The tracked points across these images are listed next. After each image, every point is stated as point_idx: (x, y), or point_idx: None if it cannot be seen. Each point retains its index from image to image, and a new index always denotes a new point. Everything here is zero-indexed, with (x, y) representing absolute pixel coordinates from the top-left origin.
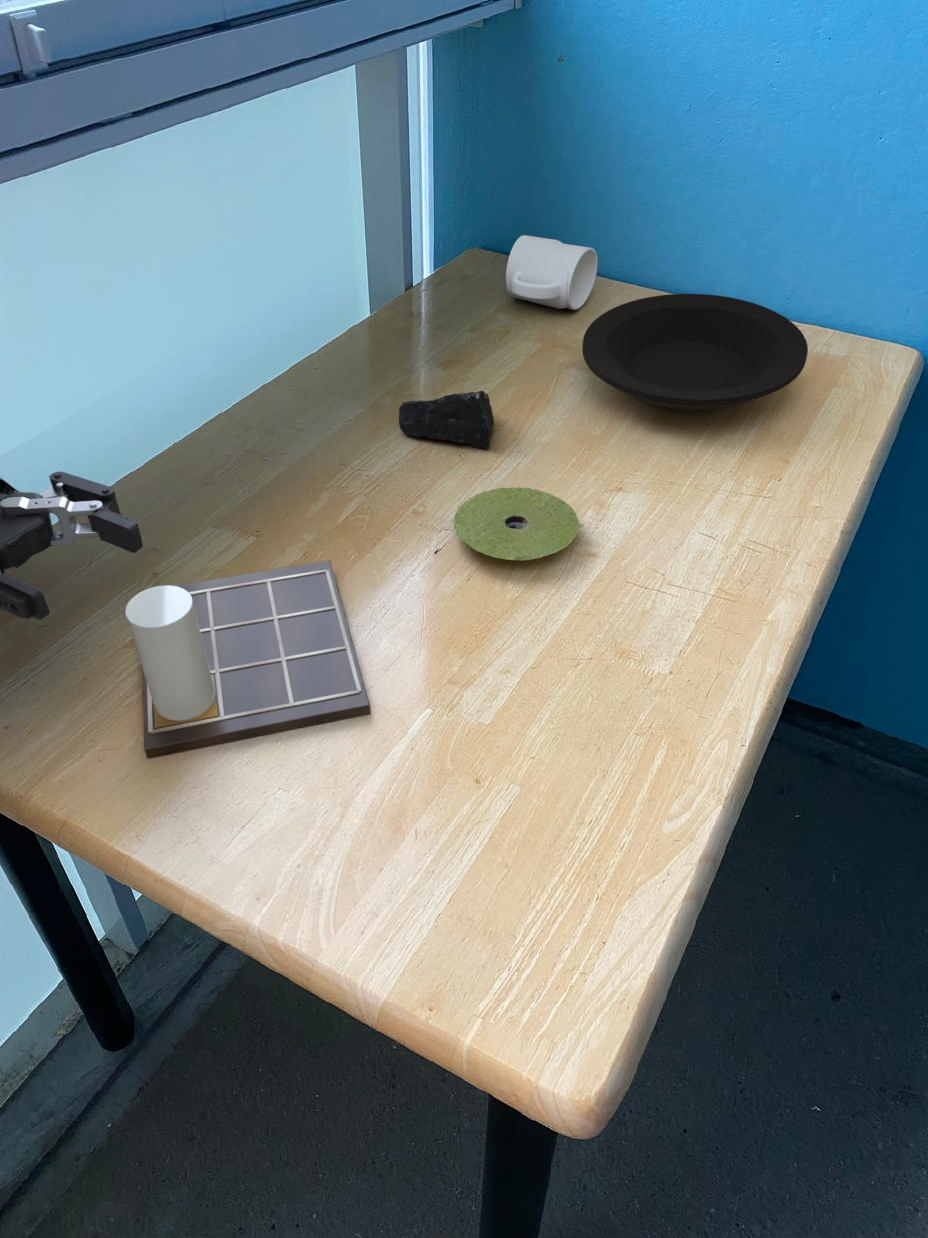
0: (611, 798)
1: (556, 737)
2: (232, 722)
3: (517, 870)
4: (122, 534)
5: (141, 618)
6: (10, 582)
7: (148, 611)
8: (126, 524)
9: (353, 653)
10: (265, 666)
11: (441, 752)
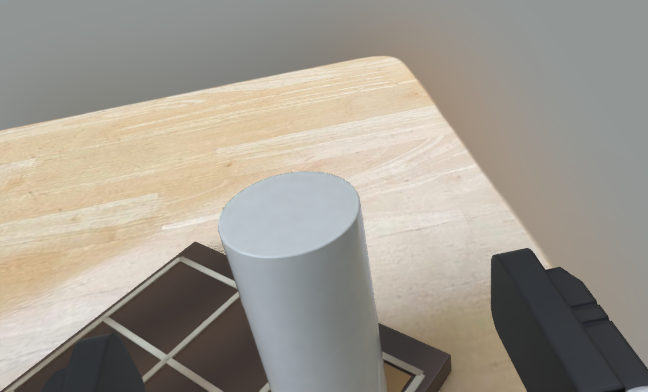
0: (193, 122)
1: (148, 161)
2: None
3: (290, 118)
4: (116, 389)
5: (338, 200)
6: (568, 331)
7: (315, 206)
8: (88, 354)
9: (113, 305)
10: (194, 365)
11: (213, 193)
